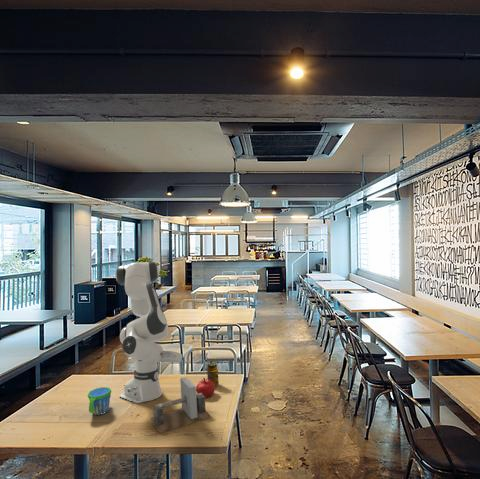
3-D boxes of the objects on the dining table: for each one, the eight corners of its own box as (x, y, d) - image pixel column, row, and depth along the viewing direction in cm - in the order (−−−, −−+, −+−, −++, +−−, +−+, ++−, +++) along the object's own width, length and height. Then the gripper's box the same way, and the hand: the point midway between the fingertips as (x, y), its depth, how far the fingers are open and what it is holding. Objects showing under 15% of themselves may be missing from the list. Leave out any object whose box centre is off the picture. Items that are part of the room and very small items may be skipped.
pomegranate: (217, 397, 184) (216, 379, 183) (198, 400, 181) (197, 382, 180) (213, 389, 193) (212, 372, 193) (194, 392, 190) (194, 375, 190)
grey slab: (191, 419, 159) (189, 387, 159) (181, 407, 171) (180, 378, 171) (197, 417, 161) (195, 386, 161) (187, 406, 172) (186, 377, 172)
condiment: (222, 385, 198) (220, 363, 198) (210, 390, 192) (209, 368, 192) (213, 381, 203) (212, 361, 203) (201, 386, 197) (200, 365, 197)
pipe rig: (158, 433, 152) (157, 412, 152) (150, 419, 164) (149, 399, 164) (210, 417, 163) (209, 397, 163) (199, 405, 176) (198, 387, 175)
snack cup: (99, 421, 165) (98, 399, 165) (80, 419, 168) (79, 398, 168) (119, 405, 180) (118, 385, 180) (101, 403, 183) (100, 384, 183)
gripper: (173, 346, 153) (190, 353, 163) (136, 345, 161) (155, 352, 172) (170, 361, 150) (187, 368, 160) (133, 359, 158) (152, 366, 169)
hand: (170, 360), depth 166 cm, fingers closed
